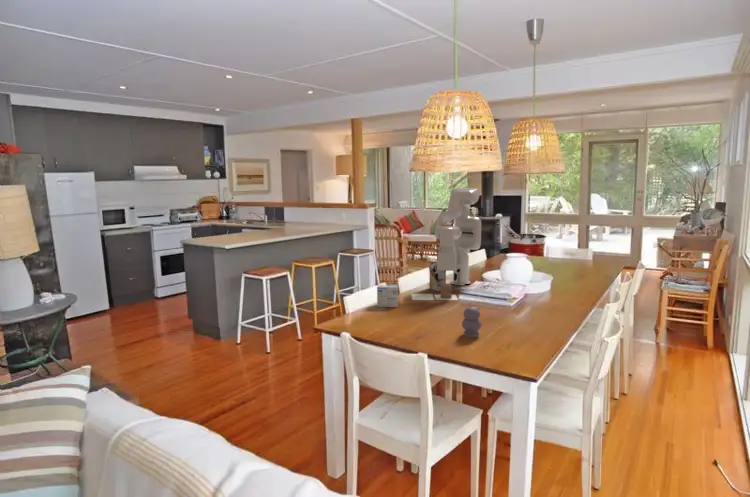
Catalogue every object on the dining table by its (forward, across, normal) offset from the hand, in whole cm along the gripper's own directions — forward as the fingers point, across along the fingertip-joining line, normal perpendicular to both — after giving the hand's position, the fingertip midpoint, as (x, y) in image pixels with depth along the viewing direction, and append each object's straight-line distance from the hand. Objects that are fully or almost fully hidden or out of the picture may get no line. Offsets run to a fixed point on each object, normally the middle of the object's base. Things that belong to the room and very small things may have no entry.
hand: (445, 280), depth 254 cm
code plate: (+10, 0, +1) cm, 10 cm away
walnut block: (+10, 0, +1) cm, 10 cm away
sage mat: (+10, -13, +1) cm, 16 cm away
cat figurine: (+12, +4, -63) cm, 64 cm away
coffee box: (+10, -3, +21) cm, 23 cm away
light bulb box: (+11, -32, -17) cm, 38 cm away
